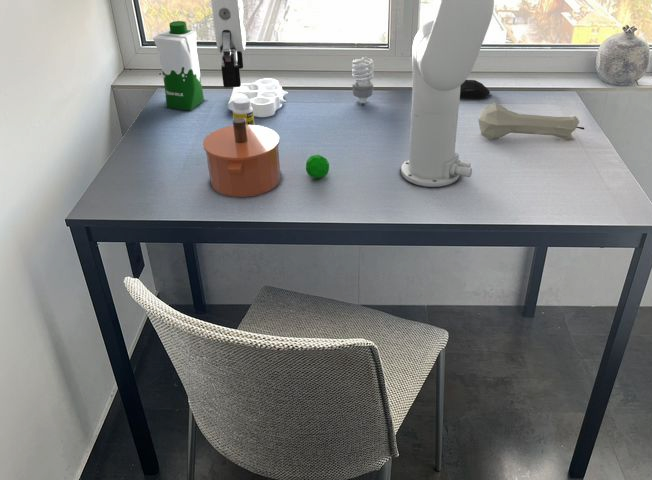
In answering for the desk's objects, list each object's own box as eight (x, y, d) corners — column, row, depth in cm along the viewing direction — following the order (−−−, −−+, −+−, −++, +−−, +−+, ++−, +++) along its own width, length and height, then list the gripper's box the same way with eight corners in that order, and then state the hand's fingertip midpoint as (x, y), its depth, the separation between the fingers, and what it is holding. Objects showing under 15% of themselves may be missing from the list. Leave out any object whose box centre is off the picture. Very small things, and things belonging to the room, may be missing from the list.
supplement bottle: (251, 138, 160) (247, 104, 155) (232, 137, 161) (228, 103, 156) (257, 130, 164) (254, 97, 159) (239, 128, 165) (235, 95, 160)
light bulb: (360, 109, 174) (360, 63, 167) (347, 102, 178) (347, 56, 171) (377, 104, 177) (378, 58, 170) (365, 97, 181) (365, 52, 174)
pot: (284, 158, 152) (282, 123, 147) (273, 204, 136) (270, 166, 131) (220, 158, 152) (216, 122, 147) (202, 203, 136) (196, 165, 131)
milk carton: (209, 99, 179) (198, 22, 168) (191, 113, 173) (179, 33, 161) (179, 95, 182) (167, 19, 170) (161, 108, 175) (147, 29, 163)
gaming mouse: (434, 88, 186) (435, 74, 183) (489, 91, 184) (490, 77, 182) (432, 97, 181) (433, 82, 178) (489, 100, 179) (491, 86, 177)
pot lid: (283, 130, 146) (281, 105, 142) (274, 163, 133) (272, 137, 130) (212, 129, 146) (208, 104, 143) (196, 162, 134) (192, 136, 130)
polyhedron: (310, 184, 143) (309, 163, 140) (303, 173, 147) (302, 153, 144) (332, 179, 144) (332, 159, 142) (325, 169, 148) (324, 149, 145)
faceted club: (472, 124, 164) (575, 129, 165) (476, 149, 159) (582, 153, 160) (479, 95, 157) (586, 100, 158) (483, 119, 152) (594, 124, 153)
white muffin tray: (235, 90, 185) (290, 90, 185) (226, 117, 170) (285, 117, 170) (234, 78, 183) (289, 78, 183) (225, 105, 168) (284, 104, 168)
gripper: (243, -4, 115) (251, 93, 125) (247, -28, 129) (254, 61, 139) (198, -3, 115) (210, 94, 125) (207, -28, 129) (217, 62, 139)
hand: (233, 77), depth 132 cm, fingers open, 9 cm apart
